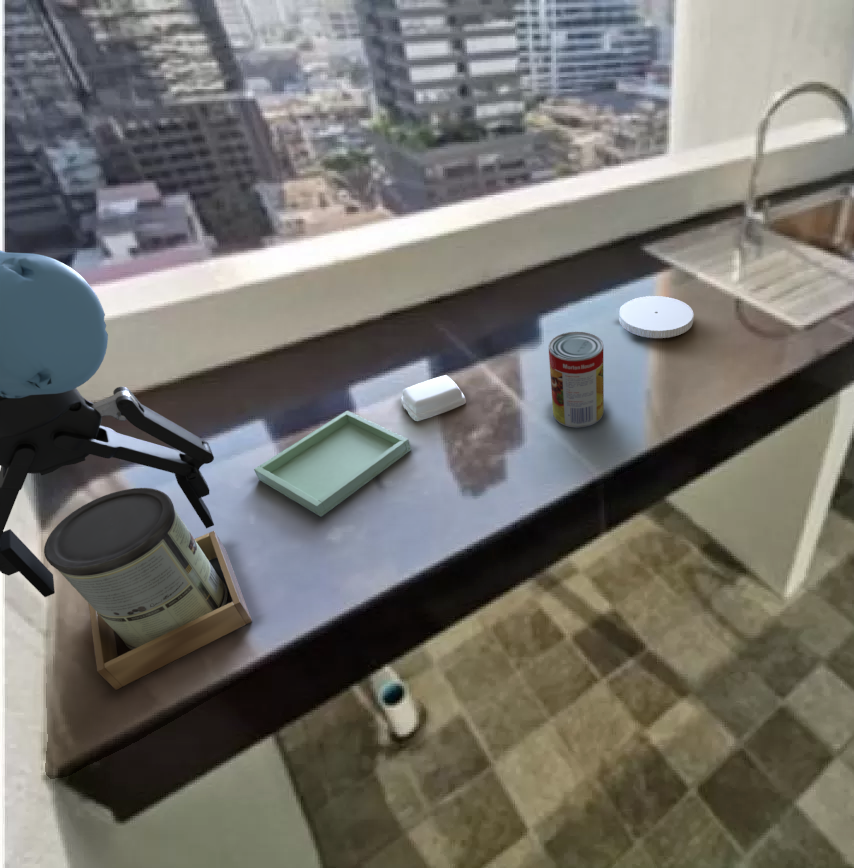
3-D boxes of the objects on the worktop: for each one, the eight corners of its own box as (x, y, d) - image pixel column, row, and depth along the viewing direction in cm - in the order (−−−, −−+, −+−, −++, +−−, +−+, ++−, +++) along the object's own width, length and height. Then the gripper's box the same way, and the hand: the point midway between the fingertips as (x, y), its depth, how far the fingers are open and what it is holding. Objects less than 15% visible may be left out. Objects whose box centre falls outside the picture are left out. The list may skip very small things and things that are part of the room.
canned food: (594, 393, 98) (593, 327, 90) (610, 421, 92) (610, 353, 84) (547, 402, 96) (542, 336, 88) (560, 432, 90) (556, 363, 82)
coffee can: (104, 622, 65) (24, 534, 56) (200, 560, 72) (142, 473, 63) (148, 674, 60) (70, 587, 51) (247, 603, 67) (191, 515, 58)
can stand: (116, 690, 59) (96, 671, 57) (102, 604, 67) (85, 584, 65) (252, 621, 65) (240, 602, 63) (225, 549, 73) (214, 530, 71)
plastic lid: (611, 338, 111) (612, 326, 110) (627, 304, 122) (627, 292, 120) (687, 347, 109) (688, 334, 107) (696, 311, 119) (697, 299, 118)
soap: (414, 423, 92) (411, 407, 90) (399, 401, 96) (395, 386, 94) (469, 403, 96) (466, 388, 94) (451, 383, 100) (448, 368, 98)
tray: (321, 517, 77) (316, 506, 76) (258, 480, 82) (253, 469, 81) (411, 449, 87) (408, 439, 86) (350, 420, 93) (347, 410, 91)
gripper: (168, 305, 54) (255, 476, 68) (-228, 409, 43) (-27, 590, 56) (183, 339, 50) (274, 515, 63) (-255, 466, 38) (-30, 648, 52)
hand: (132, 551), depth 60 cm, fingers open, 13 cm apart
